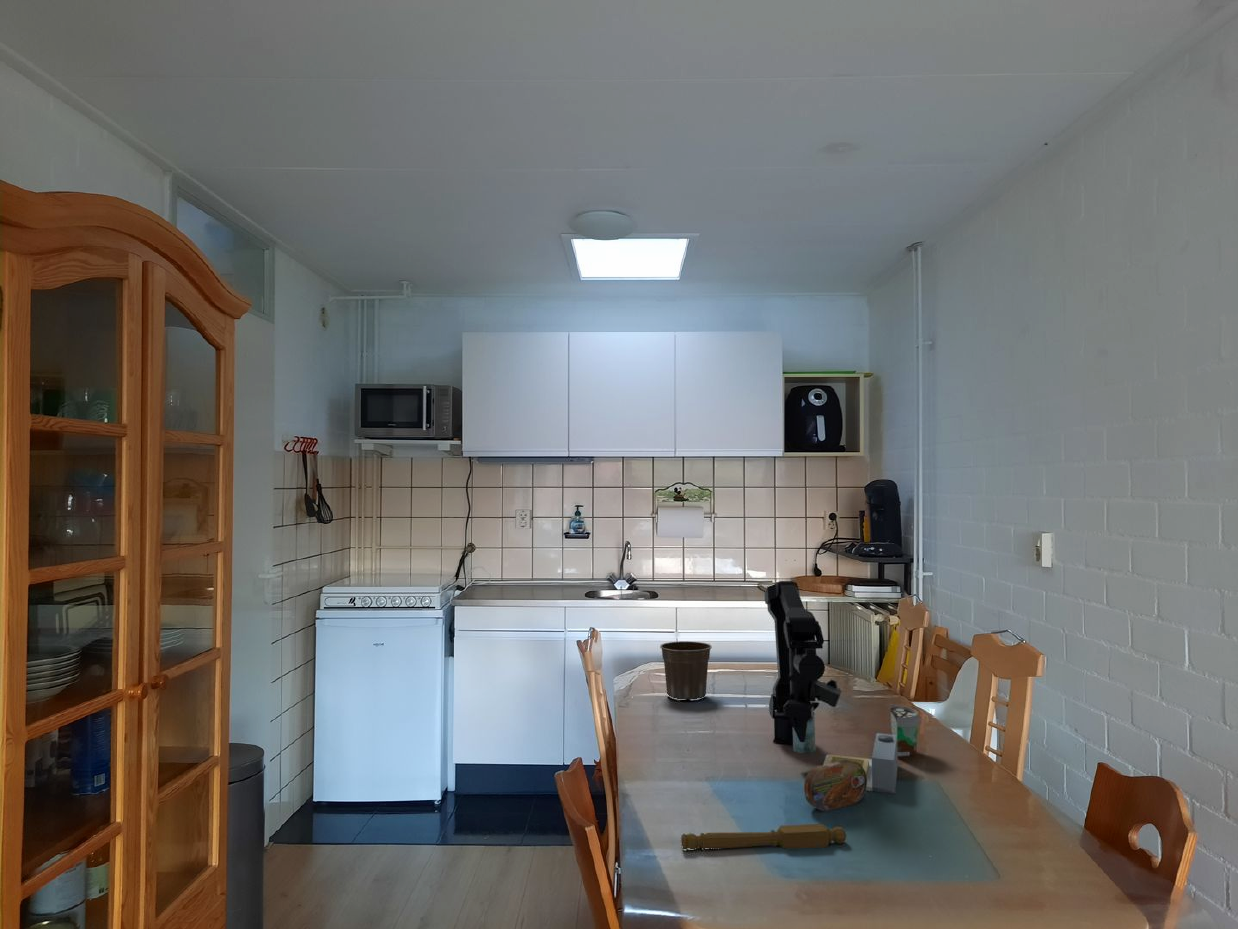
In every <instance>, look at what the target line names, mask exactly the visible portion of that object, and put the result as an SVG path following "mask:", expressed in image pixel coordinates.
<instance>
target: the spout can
mask: <svg viewBox="0 0 1238 929" xmlns="http://www.w3.org/2000/svg"><path fill="white" fill-rule="evenodd" d="M813 713H815V712H814V711H813ZM815 716H816V713H815V714H814V716H813V717H812V718H811V719H810V720H808V724H807V731H806V737H805V742H800V741H799V739H798V737H797V735H796V732H795V730H794V728H793V744H792V748H793V749H792V750H793V751H794V752H795V753H799V754H813V753H816V722H815V720H816V718H815Z"/></svg>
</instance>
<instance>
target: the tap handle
mask: <svg viewBox="0 0 1238 929" xmlns="http://www.w3.org/2000/svg"><path fill="white" fill-rule="evenodd" d="M846 834H847V833H846V830H845V829H844V828H842V827H841V826H835V827H833V828H832V829H830V828H828V827H826V825H824V824H822V823H811V824H810V823H808V824H807V823H806V824H790V825H788V824H787V825H786V824H784V825H780V826H779V827H778V829H777V830H774V829H771V830H770V831H765V832H764V831H761V832H752V831H751V832H750V831H749V832H746V831H744V832H735V831H734V832H706V833H703V832H702V833H700V835H696V834H695V833H688V834H685V833H683V834H681V840H680V843H682V844H681V847H682V846H683V849H687V848H690V849H695V848H697V849H699V848H698V847H701V848H703V849H705V848H709V849H711V848H712V849H713V848H714V849H715V848H730V849H737V848H738V847H742V848H749V847H750V848H751V847H752V846H753V847H761V846H773V847H777V846H779V847H781V848H782V849H784V850H786V849H787V850H788V849H789V850H790V849H807V848H808V849H809V848H810V849H811V848H829V844H831V843H832V842H834V843H835V844H837V845H839V844H841V845H842V844H843V843H844V842H845V841H846V839H847V835H846ZM738 849H739V848H738Z"/></svg>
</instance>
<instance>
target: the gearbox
mask: <svg viewBox="0 0 1238 929" xmlns="http://www.w3.org/2000/svg"><path fill="white" fill-rule="evenodd" d="M873 744H874V745H873V747H872V748H873V749H872V755H871V758H865V757H853V756H846V755H838V754H837V755H836V754H826V756H825V759H824V761H823V764H822V765H826V764H830V763H833V762H837V761H841V760H849V761H852V762H857V763H859V764H860V765H861V766H862V767H863V768H864V770H865V773H866V777H867V786H866V790H865V791H869V792H875V793H877V792H878V793H882V794H883V793H885V794H892V795H895V794H896V788H897V787H896V786H897V777H898V776H897V775H898V766H899V764H898V760H899V759H897V735H891V733H890V734H889V733H888V734H887V733H880V732H879V733H878V732H877V733H876V735H875V739H874V743H873Z"/></svg>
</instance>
